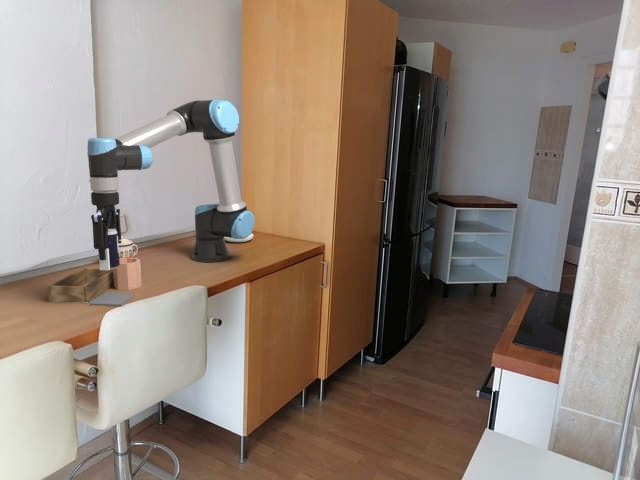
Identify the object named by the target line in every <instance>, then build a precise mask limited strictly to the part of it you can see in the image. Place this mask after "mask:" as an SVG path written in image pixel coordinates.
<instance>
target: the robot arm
mask: <svg viewBox="0 0 640 480" xmlns="http://www.w3.org/2000/svg"><path fill="white" fill-rule="evenodd" d="M239 125H240V116H239V112H238V110H237V108H236V107H235V106H234V104H232V103H231V102H230V101H228V100H225V99H224V100H221V99H206V100H204V99H203V100H192V101H190V102H187V103H184V104H181V105H180V106H178V107H176V108H174V109H171V110H169V111H168V112H166V116H163V117H160V118H158V119H156V120H154V121H152V122H149V123H147V124H145V125H143V126H140V127H138V128H136V129H134V130H131V131H129V132H127V133H124V134H123V135H120V136H118V137H116V138H112V137H111V138H108V137H107V138H106V137H105V138H104V137H103V138H102V137H92V138H91V137H90V138H89V139H87V159H88V160H87V161H88V170H89V172H88V173H89V180H88V182H89V183H90V190H91V191H92V192H91V193H90V199H91V201H90V203H91V205H92V206H96V212H95V214H91V216H90V218H91V223H92V235H93V236H92V237H93V238H92V241H93V242H92V243H93V248H94V250H97V251H99V254H98V264H99V265H100V266H99V269H100V270H110V262H109V249H107V239H108V229H113V228H115V229H116V231H117V233H118V243H121V241H119V240H121V236H122V232H121V231H122V229H121V228H122V227H121V218H120V215H121V209H120V208H116V206H117V205H119V204H120V193H119V192H118V190H119V175H118V173H119V172H118V171H136V170H137V171H142V170H147V169H150V168H151V166H152V165H153V161H154V159H153V158H154V157H153V156H154V155H153V152H152V151H151V148H154V147H156V146H157V145H159V144H161V143H163V142H166V141H167V140H168V141H169V139H171V138H173V137H176V136H178V137H182V136H184V135H187V134H193V133H202V136H203V140H204V141H205V142H206V143H208V146H209V152H210V156H211V163H212V167H213V174H214V179H215V183H216V184H215V185H216V189H217V195H218V201H219V203H208V204H201V205H200V204H199V205H197V206H196V207H195V208H194V209H195V210H194V226H195V227H194V228H195V242H194V246H193V249H192V252H191V258H192V260H193V261H195V262H201V263H216V262H217V261H218V262H222V261H226V260H228V259H229V249H228V246H227V244H226V240H224V237H229V238H233V239H245V238H247V237H248V236H249V235H250V234H251V233H252V232H253V230H254V229H255V223H256V219H255V215H254V214H253V212H251V211H249V210H248V208H247V203H246V202H245V201H243V200H242V195H241V194H242V193H241V189H240V188H241V187H240V183H239V176H238V170H237V169H238V168H237V166H236V165H237V164H236V159H235V152H234V147H233V139H234V138H235V137H236V133H235V132H236V131H237V130H238V129H239ZM218 262H217V263H218Z"/></svg>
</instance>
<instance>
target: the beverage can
mask: <svg viewBox="0 0 640 480" xmlns="http://www.w3.org/2000/svg"><path fill="white" fill-rule="evenodd" d="M107 249H109V262H110V270H112V269H116V268H117V267H118V266H119V265H120V261H119V245H118V233H117V231H116V229H115V228H113V229H108V239H107ZM97 251H98V250H97ZM98 255H99V251H98ZM98 267H100V265H99V266H98Z"/></svg>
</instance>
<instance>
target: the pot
mask: <svg viewBox="0 0 640 480" xmlns="http://www.w3.org/2000/svg"><path fill="white" fill-rule="evenodd" d="M119 261H120V265H119V266H118V267H117V268H116V269H113V275H114V285H113V287H114V289H115V290H117V291H131V290H137V289H139V288H140V287H141V286H142V270H141V269H142V268H141V267H142V266H141V259H140V258H137V257H133V258H121V259H119Z"/></svg>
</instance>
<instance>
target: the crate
mask: <svg viewBox="0 0 640 480" xmlns="http://www.w3.org/2000/svg"><path fill="white" fill-rule="evenodd" d="M85 283H86V284H87V285H85V286H82V285H83V284H85ZM112 287H114V275H113V269H112V270H100V268H93V267H92V268H91V267H88V268H87V267H84V268H80V269H78V270H77V271H74V272H73V273H71V274H69V275H67V276H65V277H63V278H61V279H59V280H57V281H56V282H53V283H51V284H50V285H48V286H47V293H48V302H49V303H62V302H88V303H90V302H91V301H93V300H94V299H95V297H96V298H97V297H98V295H99V296H100V295H101V293H102V294H103V293H106V291H108V290H109V289H110V288H112ZM92 299H93V300H92ZM89 301H90V302H89Z"/></svg>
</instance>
